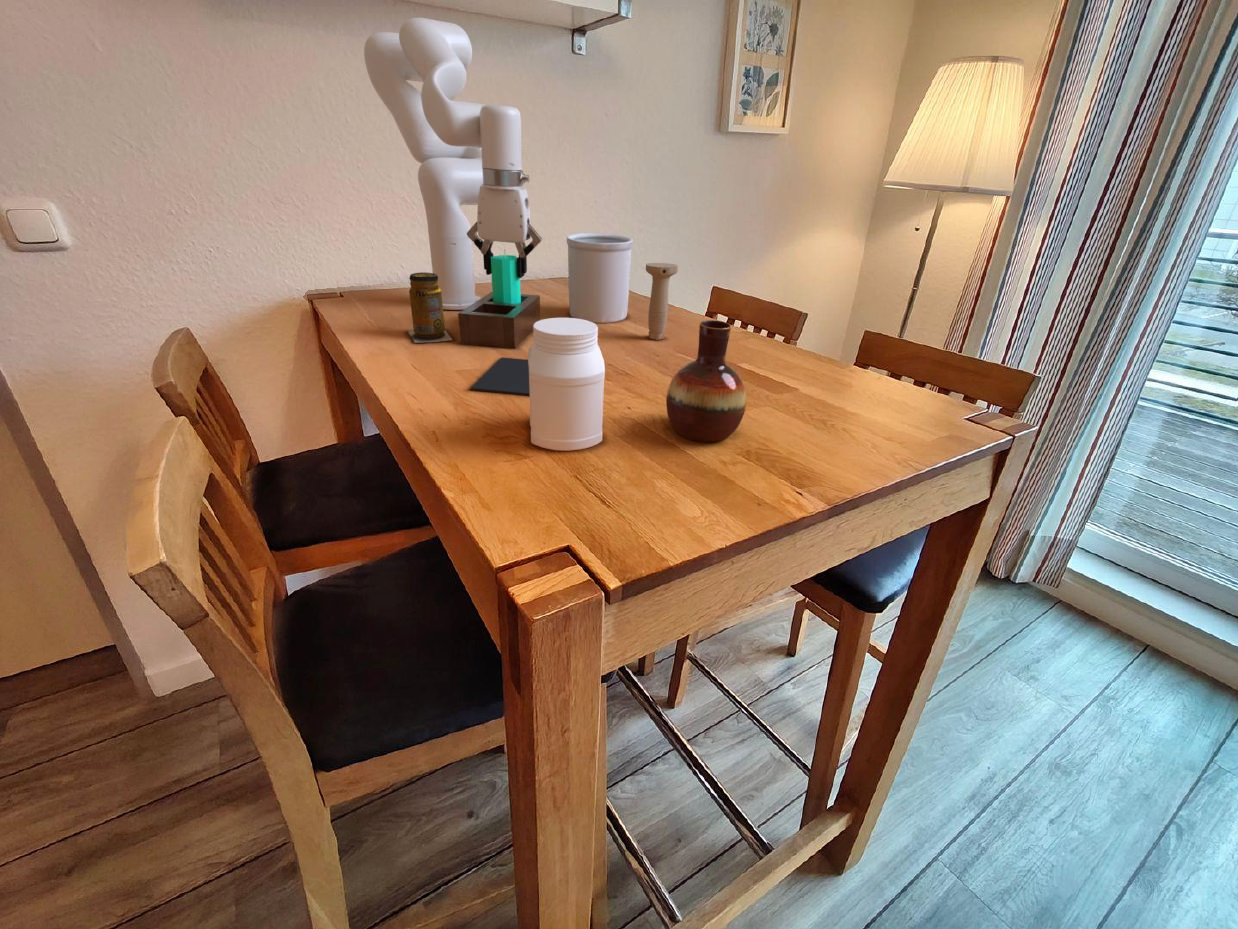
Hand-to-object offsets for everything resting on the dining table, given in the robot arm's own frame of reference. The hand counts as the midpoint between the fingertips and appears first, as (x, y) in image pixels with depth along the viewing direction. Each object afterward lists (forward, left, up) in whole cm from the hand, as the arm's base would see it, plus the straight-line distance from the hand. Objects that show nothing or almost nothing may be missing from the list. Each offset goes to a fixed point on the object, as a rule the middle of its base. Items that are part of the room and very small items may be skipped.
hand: (505, 274), depth 122 cm
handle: (+32, 0, -11) cm, 34 cm away
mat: (+14, -30, -11) cm, 35 cm away
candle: (0, 0, -7) cm, 7 cm away
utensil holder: (+17, +15, -11) cm, 26 cm away
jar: (+23, -50, -11) cm, 56 cm away
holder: (0, -5, -11) cm, 12 cm away
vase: (+42, -45, -11) cm, 63 cm away
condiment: (-13, -12, -11) cm, 21 cm away
